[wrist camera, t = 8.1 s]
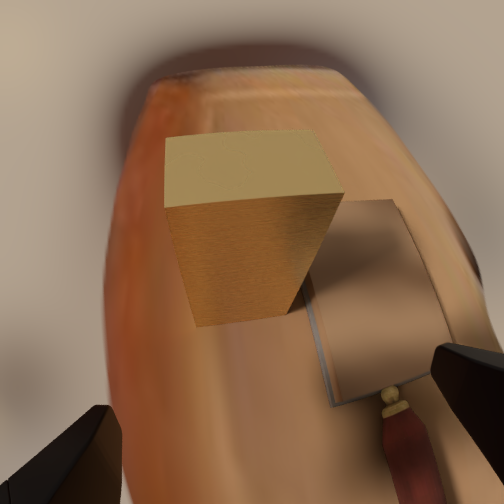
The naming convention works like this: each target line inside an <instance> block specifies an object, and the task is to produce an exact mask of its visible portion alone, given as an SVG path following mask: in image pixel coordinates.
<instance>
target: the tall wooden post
mask: <svg viewBox="0 0 504 504" xmlns="http://www.w3.org/2000/svg"><path fill="white" fill-rule="evenodd" d="M344 193H345V192H344V190H343V188H342V186H341V184H340V182H339V180H338V178H337V175H336V173H335V171H334V169H333V167H332V165H331V163H330V161H329V159H328V157H327V155H326V153H325V151H324V150H323V148H322V146H321V144H320V142H319V140H318V138H317V136H316V134H315V132H314V131H313V130H261V131H239V132H223V133H210V134H198V135H188V136H179V137H170V138H166V145H165V184H164V208H165V212H166V217H167V221H168V225H169V229H170V233H171V237H172V241H173V245H174V249H175V253H176V257H177V261H178V264H179V268H180V272H181V276H182V279H183V283H184V286H185V290H186V293H187V297H188V300H189V304H190V307H191V311H192V314H193V317H194V321H195V324H196V327H202V326H210V325H218V324H226V323H234V322H241V321H248V320H255V319H262V318H268V317H275V316H281V315H286V314H287V312H288V310H289V308H290V306H291V304H292V302H293V300H294V298H295V296H296V294H297V292H298V290H299V288H300V286H301V284H302V282H303V280H304V278H305V276H306V274H307V272H308V270H309V268H310V266H311V264H312V262H313V260H314V258H315V256H316V254H317V252H318V250H319V247H320V245H321V243H322V241H323V239H324V237H325V235H326V233H327V230H328V228H329V226H330V224H331V222H332V220H333V218H334V215H335V213H336V211H337V209H338V206H339V204H340V202H341V200H342V198H343V195H344Z"/></svg>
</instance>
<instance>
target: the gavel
mask: <svg viewBox="0 0 504 504" xmlns="http://www.w3.org/2000/svg"><path fill="white" fill-rule="evenodd" d="M398 395H399V391H398V389H397V387H396V386H394V385H392V386H389V387H386V388H384V389H383V390H381V398H382V400H383V401H384V402H385V403H386V407H385V408H384V409H383V410H382V416H383V439H382V445H383V449H384V452H385V455H386V458H387V462H388V465H389V468H390V472H391V475H392V479H393V482H394V486H395V489H396V493H397V496H398V500H399V504H447V503H446V498H445V494H444V490H443V486H442V482H441V478H440V474H439V471H438V467H437V463H436V460H435V456H434V453H433V449H432V446H431V443H430V440H429V436H428V433H427V430H426V427H425V425H424V424H423V423H422V421H421V420H420V419H419V418H418V417H417V415H416V414H415V413H414V412H413V411H412V409H411V408H410V407H409V404H408V402H407V401H405V400H399V397H398Z"/></svg>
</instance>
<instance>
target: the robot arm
mask: <svg viewBox="0 0 504 504" xmlns="http://www.w3.org/2000/svg"><path fill="white" fill-rule="evenodd" d="M430 373H431V376H432V378H433V379H434V381H435V382H436V384H437V386H438V387H439V389H440V391H441V392H442V394H443V396H444V397H445V399H446V401H447V403H448V404H449V406H450V408H451V409H452V411H453V412H454V414H455V415H456V416H457V418H458V419H459V421H460V422H461V423H462V425H463V426H464V428H465V429H466V430H467V432H468V433H469V435H470V436H471V437H472V439H473V440H474V442H475V443H476V445H477V446H478V447H479V449H480V450H481V452H482V453H483V455H484V456H485V458H486V459H487V461H488V462H489V464H490V465H491V467H492V468H493V470H494V471H495V473H496V474H497V476H498V477H499V479H500V480H501V482H502V483H503V485H504V354H502V353H497V352H492V351H487V350H482V349H477V348H473V347H468V346H463V345H459V344H454V343H450V342H446V343H443V344H441V345H438V346H437V347H436V348H435V351H434V355H433V359H432V363H431V367H430ZM121 486H122V430H121V427H120V425H119V423H118V420H117V418H116V416H115V413H114V411H113V409H112V407H111V406H109V405H94V406H93V407H92V408H91V409H89V410H88V411H87V412H86V413H85V414H84V415H82V416H81V417H80V418H79V419H78V420H77V421H76V422H74V423H73V424H72V425H71V426H70V427H68V428H67V429H66V430H65V431H64V432H63V433H62V434H60V435H59V436H58V437H57V438H56V439H54V440H53V441H52V442H51V443H50V444H49V445H47V446H46V447H45V448H44V449H43V450H42V451H40V452H39V453H38V454H37V455H36V456H34V457H33V458H32V459H31V460H30V461H28V462H27V463H26V464H25V465H24V466H23V467H21V468H20V469H19V470H18V471H17V472H15V473H14V474H13V475H12V476H11V477H10V478H8V480H6V481H4V482H3V483H2V484H1V485H0V504H120V497H121Z"/></svg>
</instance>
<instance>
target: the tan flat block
mask: <svg viewBox="0 0 504 504" xmlns="http://www.w3.org/2000/svg"><path fill="white" fill-rule="evenodd" d="M301 289H302V293H303V297H304V301H305V305H306V309H307V312H308V316H309V320H310V324H311V328H312V332H313V336H314V340H315V344H316V348H317V352H318V357H319V361H320V365H321V369H322V373H323V378H324V382H325V386H326V390H327V395H328V399H329V404H330V408H332V407H336V406H340V405H343V404H347V403H350V402H353V401H357V400H360V399H363V398H366V397H369V396H372V395H375V394H378V393H381V390H383V389H384V388H386V387H389V386H392V385H394V386H396V387H398V386H400V385H403V384H405V383H408V382H411V381H413V380H416V379H418V378H421V377H423V376H425V375H428V374H430V367H431V363H432V359H433V355H434V351H435V348H436V347H437V346H438V345H441V344H443V343H446V342H450V343H453V342H452V339H451V336H450V333H449V330H448V327H447V324H446V321H445V318H444V315H443V312H442V310H441V307H440V304H439V301H438V299H437V296H436V294H435V291H434V288H433V286H432V283H431V281H430V278H429V276H428V274H427V271H426V269H425V266H424V264H423V262H422V259H421V257H420V255H419V253H418V250H417V248H416V246H415V244H414V242H413V240H412V237H411V235H410V233H409V231H408V229H407V227H406V225H405V223H404V221H403V219H402V217H401V215H400V213H399V211H398V209H397V207H396V205H395V203H394V201H393V200H392V199H388V200H365V201H345V202H340V204H339V206H338V209H337V211H336V213H335V215H334V218H333V220H332V222H331V224H330V226H329V228H328V230H327V233H326V235H325V237H324V239H323V241H322V243H321V245H320V247H319V250H318V252H317V254H316V256H315V258H314V260H313V262H312V264H311V266H310V268H309V270H308V272H307V274H306V276H305V278H304V280H303V282H302V284H301Z"/></svg>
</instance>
